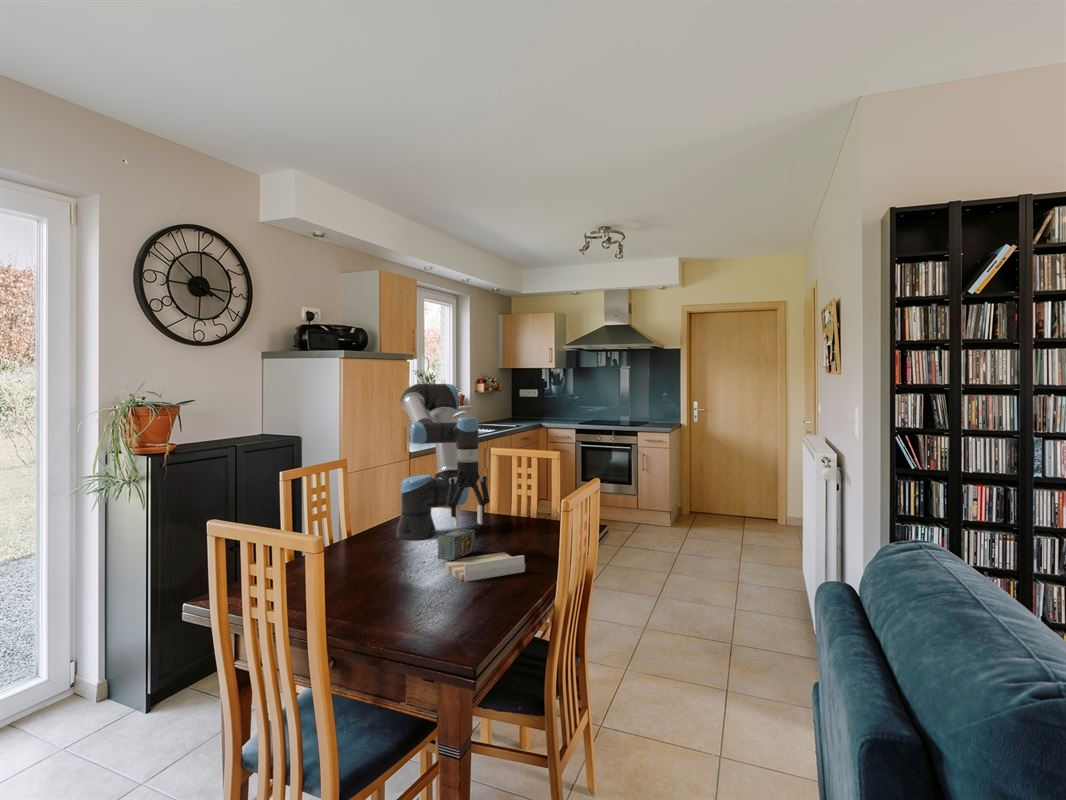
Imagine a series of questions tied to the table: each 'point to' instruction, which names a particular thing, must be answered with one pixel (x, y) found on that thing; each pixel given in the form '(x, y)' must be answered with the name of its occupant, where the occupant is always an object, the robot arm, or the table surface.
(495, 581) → the table surface
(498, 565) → the rail
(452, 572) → the shelf board
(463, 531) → the beverage carton
